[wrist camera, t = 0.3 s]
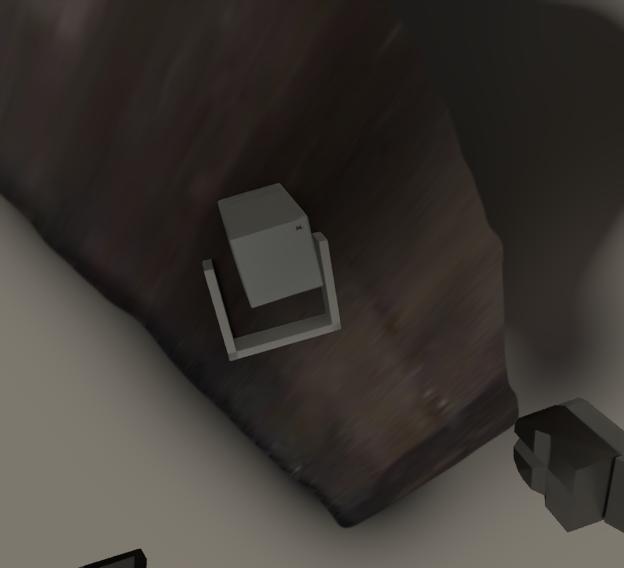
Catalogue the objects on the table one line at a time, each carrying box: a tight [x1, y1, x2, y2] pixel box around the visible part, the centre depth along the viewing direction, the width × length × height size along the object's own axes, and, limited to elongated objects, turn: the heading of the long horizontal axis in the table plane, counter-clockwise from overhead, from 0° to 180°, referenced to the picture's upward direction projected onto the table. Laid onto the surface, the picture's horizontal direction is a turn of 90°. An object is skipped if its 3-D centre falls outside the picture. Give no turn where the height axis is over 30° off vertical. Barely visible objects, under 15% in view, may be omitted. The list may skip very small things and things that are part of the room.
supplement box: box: [217, 183, 323, 308], centre depth 49 cm, size 7×7×13 cm
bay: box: [202, 232, 341, 361], centre depth 57 cm, size 12×14×3 cm
